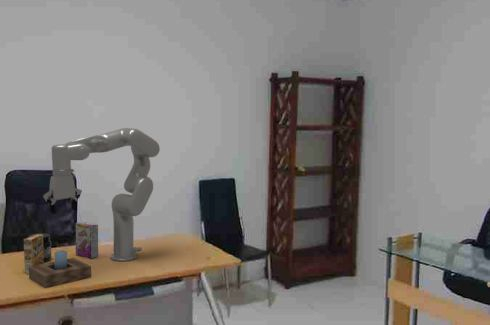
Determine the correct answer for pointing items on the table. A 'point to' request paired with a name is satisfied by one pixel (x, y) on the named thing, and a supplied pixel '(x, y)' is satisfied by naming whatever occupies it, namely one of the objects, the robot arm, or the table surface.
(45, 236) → the supplement container
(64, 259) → the peg
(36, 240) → the candy box
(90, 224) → the candy bar box
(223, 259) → the table surface
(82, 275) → the peg block
